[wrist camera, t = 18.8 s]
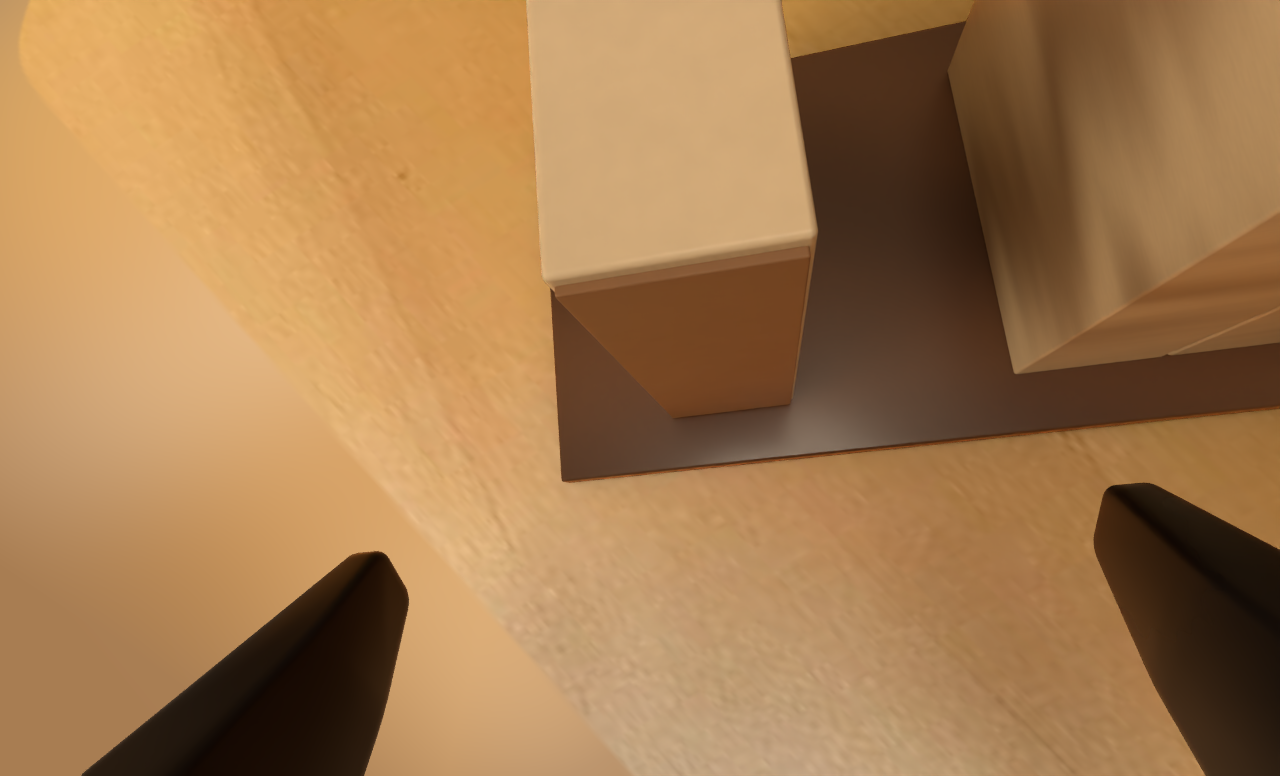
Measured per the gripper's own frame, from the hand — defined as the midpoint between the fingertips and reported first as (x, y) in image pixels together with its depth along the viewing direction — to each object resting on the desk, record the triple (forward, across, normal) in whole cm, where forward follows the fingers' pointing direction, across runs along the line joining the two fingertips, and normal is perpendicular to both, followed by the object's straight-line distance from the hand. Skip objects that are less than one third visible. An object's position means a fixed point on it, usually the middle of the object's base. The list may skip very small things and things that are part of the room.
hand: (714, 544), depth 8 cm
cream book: (+12, 0, +1) cm, 12 cm away
